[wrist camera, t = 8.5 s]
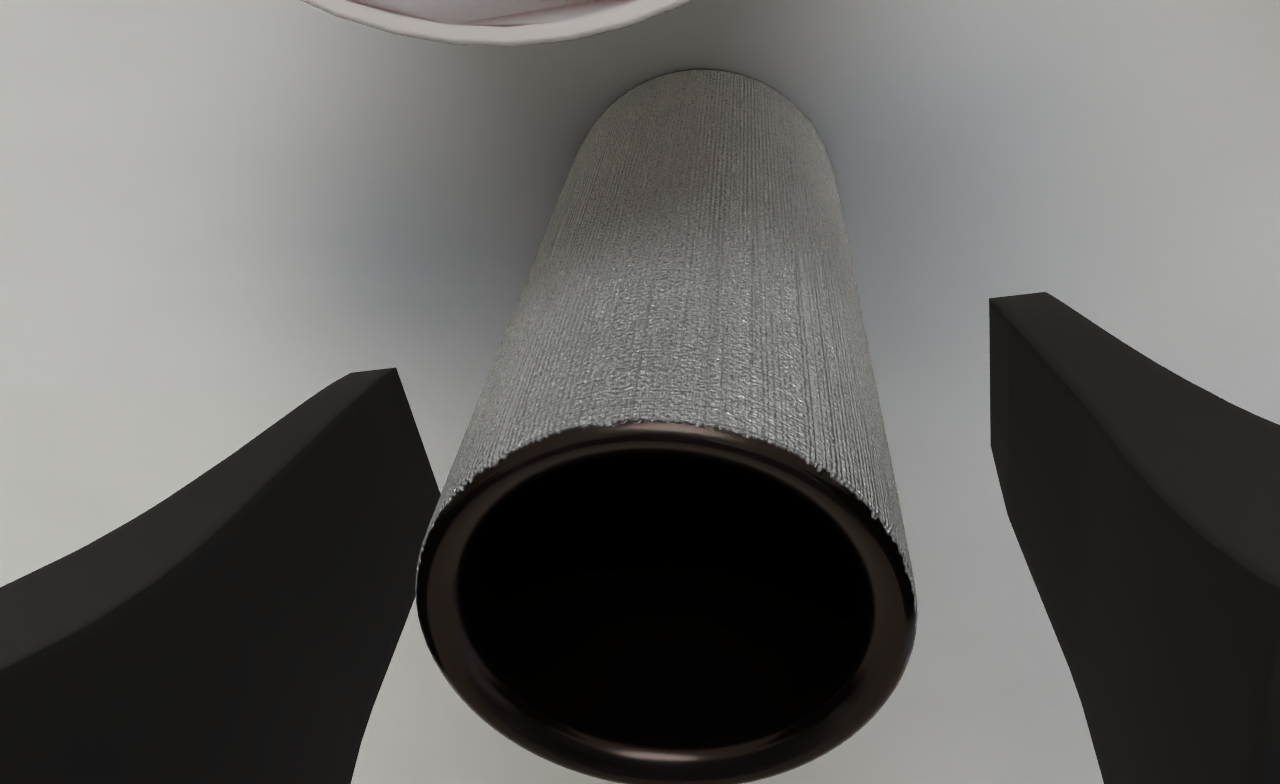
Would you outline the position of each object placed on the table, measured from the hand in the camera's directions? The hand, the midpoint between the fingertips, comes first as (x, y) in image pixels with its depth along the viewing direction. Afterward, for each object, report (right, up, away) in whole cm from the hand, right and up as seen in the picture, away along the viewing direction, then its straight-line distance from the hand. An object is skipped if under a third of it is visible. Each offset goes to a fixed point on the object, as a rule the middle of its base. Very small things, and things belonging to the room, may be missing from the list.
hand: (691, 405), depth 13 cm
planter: (0, +4, +5) cm, 7 cm away
